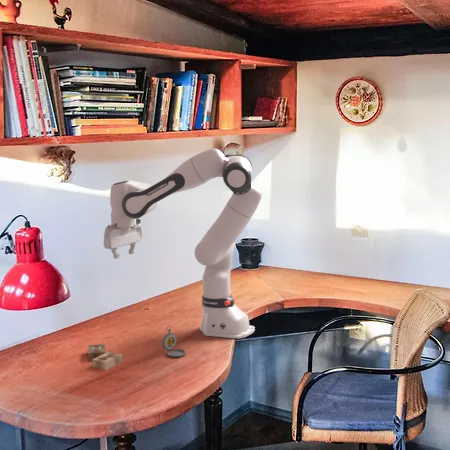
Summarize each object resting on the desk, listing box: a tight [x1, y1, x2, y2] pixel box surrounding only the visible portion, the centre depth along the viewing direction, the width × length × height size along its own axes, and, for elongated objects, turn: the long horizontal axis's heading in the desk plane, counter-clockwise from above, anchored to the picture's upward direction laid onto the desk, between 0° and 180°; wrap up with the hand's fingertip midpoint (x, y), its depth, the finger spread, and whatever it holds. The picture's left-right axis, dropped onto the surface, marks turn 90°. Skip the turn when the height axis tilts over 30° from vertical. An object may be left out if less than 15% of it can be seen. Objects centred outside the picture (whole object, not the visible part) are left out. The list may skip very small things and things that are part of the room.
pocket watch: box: [161, 325, 186, 358], centre depth 225 cm, size 8×8×10 cm
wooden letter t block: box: [92, 351, 123, 371], centre depth 218 cm, size 6×3×8 cm
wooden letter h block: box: [87, 343, 106, 362], centre depth 226 cm, size 6×3×8 cm
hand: (124, 256), depth 248 cm, fingers open, 8 cm apart
